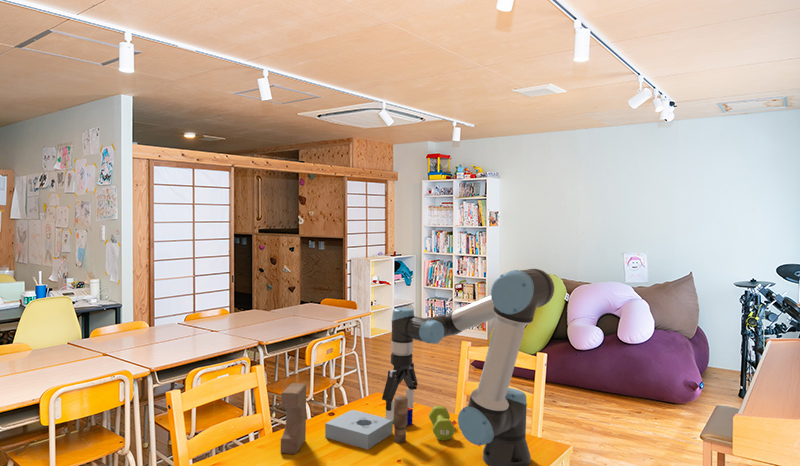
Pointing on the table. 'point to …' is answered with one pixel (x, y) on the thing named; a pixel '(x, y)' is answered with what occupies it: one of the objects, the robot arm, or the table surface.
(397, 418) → the walnut peg
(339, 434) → the socket board
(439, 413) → the dumbbell
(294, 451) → the decorative block
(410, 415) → the puzzle toy
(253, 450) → the table surface
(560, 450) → the table surface
